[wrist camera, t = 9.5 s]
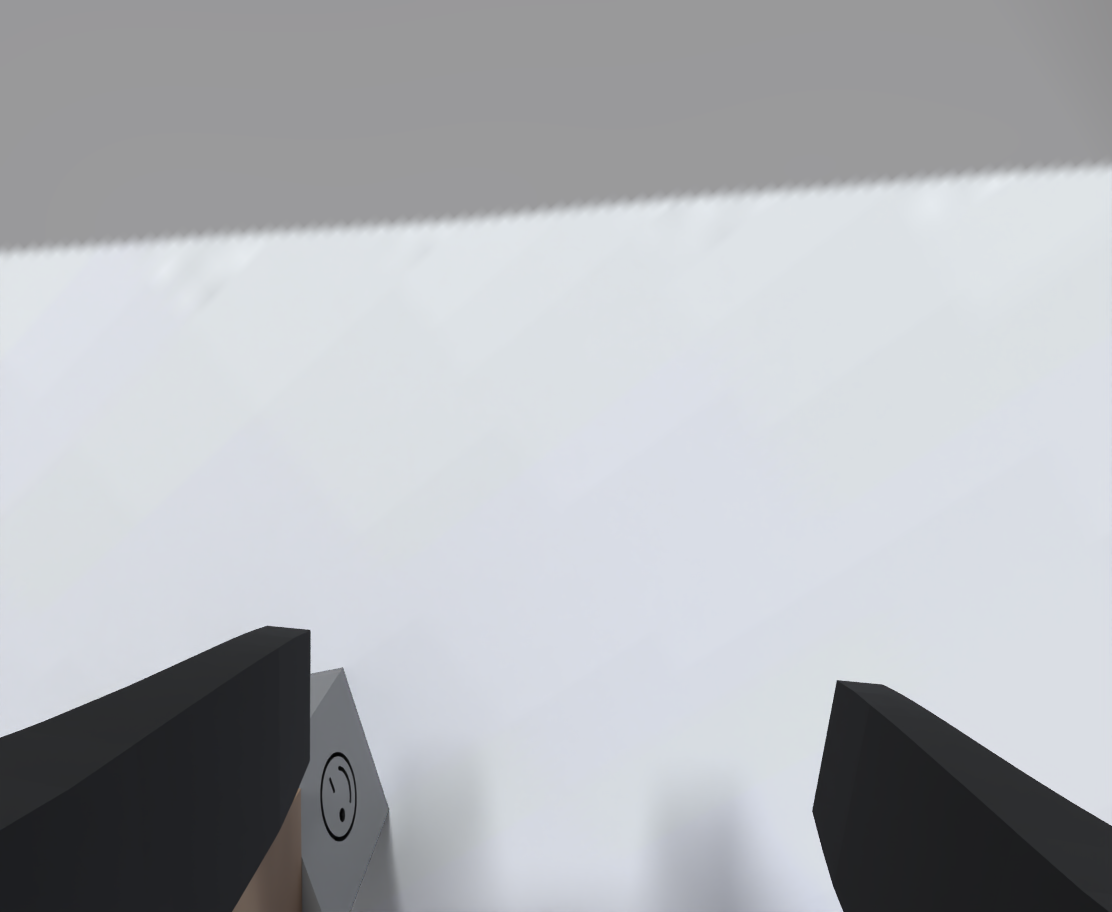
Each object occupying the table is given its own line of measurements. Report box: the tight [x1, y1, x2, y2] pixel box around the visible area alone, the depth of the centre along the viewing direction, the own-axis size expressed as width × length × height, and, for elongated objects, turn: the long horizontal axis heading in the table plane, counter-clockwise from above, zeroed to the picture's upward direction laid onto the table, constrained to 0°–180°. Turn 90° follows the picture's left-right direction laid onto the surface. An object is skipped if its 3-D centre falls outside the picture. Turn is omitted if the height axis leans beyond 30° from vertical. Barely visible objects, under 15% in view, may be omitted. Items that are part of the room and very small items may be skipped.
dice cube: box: [299, 668, 389, 912], centre depth 20 cm, size 5×5×5 cm
